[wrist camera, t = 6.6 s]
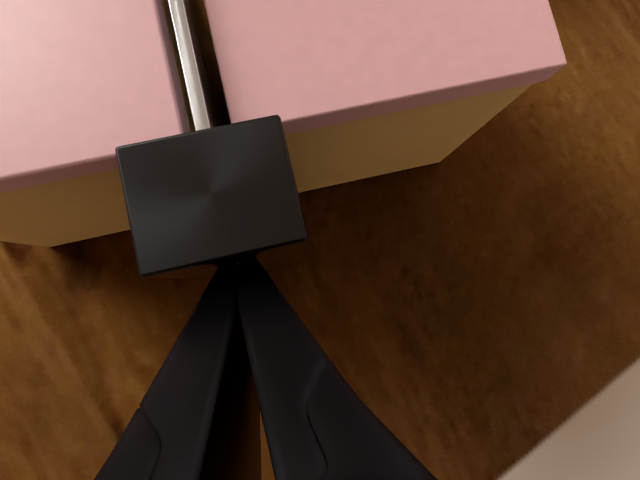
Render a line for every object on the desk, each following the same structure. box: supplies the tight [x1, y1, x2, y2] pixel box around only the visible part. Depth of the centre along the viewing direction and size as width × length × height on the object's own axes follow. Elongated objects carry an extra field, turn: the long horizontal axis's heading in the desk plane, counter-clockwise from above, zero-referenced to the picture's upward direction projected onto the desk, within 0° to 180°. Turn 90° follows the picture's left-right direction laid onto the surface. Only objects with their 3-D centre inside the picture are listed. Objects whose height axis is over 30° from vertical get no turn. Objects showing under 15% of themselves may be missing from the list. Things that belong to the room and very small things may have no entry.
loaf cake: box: [0, 0, 567, 247], centre depth 13 cm, size 7×16×8 cm, turn 103°
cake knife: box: [115, 0, 308, 279], centre depth 12 cm, size 10×3×8 cm, turn 13°
